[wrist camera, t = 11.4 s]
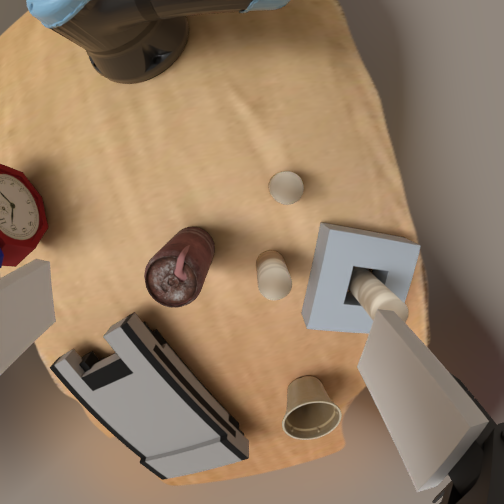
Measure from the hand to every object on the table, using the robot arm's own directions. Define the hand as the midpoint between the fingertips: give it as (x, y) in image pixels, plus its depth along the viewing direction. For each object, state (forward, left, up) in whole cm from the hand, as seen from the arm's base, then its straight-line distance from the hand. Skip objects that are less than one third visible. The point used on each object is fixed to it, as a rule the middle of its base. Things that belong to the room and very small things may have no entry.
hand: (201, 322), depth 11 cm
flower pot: (+29, +16, -32) cm, 46 cm away
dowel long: (+7, +19, -32) cm, 38 cm away
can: (+6, -5, -32) cm, 33 cm away
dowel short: (-4, +6, -32) cm, 33 cm away
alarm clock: (+4, -35, -32) cm, 48 cm away
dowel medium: (+7, +6, -32) cm, 33 cm away
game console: (+35, -10, -32) cm, 49 cm away
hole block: (+7, +19, -32) cm, 38 cm away
